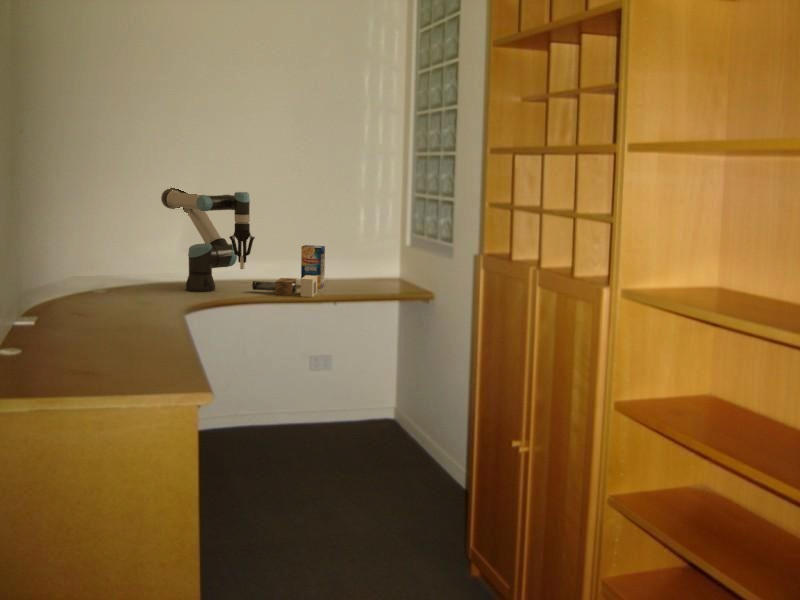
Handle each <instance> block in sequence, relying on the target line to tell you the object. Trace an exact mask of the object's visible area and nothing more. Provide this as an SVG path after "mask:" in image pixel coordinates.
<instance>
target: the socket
mask: <svg viewBox="0 0 800 600" xmlns="http://www.w3.org/2000/svg"><path fill="white" fill-rule="evenodd" d="M317 293H318V289H317V276H309V275H306V276H304V277H303V278H301V277H300V297H305V298H306V297H309V298H313V297H314V296H316V295H317Z"/></svg>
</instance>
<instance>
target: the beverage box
mask: <svg viewBox="0 0 800 600" xmlns="http://www.w3.org/2000/svg"><path fill="white" fill-rule="evenodd" d="M325 254H326V246H325V245H314V244H313V245H311V244H309V245H308V244H305V245H302V246H301V261H300V262H301V266H300V268H301V269H300V271H301V272H300V274H301V275H300V279H301V278H303V277H304V276H306V275H309V276H317V290H318V289H319V290H322V289H323V288H325V273H326V272H325V269H326V267H325V266H326V265H325V263H326V262H325V259H326V256H325Z"/></svg>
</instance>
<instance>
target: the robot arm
mask: <svg viewBox="0 0 800 600" xmlns="http://www.w3.org/2000/svg"><path fill="white" fill-rule="evenodd" d="M169 188H170V189H168V188H166V189H167V190H166V189H165V190H164V191H163V192H162V193H161V197H160V200H161V203H162V205H163V206H164V207H165V208H167V209H169V210H176V209H175V208H180V207H183V210H184V212H186V213H188V215H187V216H189V218H190V219H191V220H190V221H191V222H192V224H193V225H194V226H195V229H196V230H197V232H198V233H199V235H200V236H201V238H202V240H203V243H195V244H193V245H190V247H188V255H187V256H188V276H187V280H186V283H185V290H186V291H188V292H196V293H197V292H199V293H201V292H204V293H205V292H212V291H215V290H216V284H215V279H214V276H213V269H217V268H218V269H219V268H228V267H232V266H234V265H235V264H236V262H237V261H238V263H239V265H240V266H239V268H240V270H244V269H245V263H247V256H249V255H250V254H251V252H252V248H253V247H252V246H253V242H254V240H255V239H256V237H255V236H253V235H251V232H250V231H251V230H250V226H251V225H250V222H251V219H250V218H251V217H250V210H251V209H250V203H251V202H250V201H251V200H250V193H249V192H246V191H235V192H234V194H233V195H232V194H222V195H221V194H220V195H206V194H203V195H197V194H188V193H186V192H184V191H181V190H179V189H175V188H172V187H169ZM172 190H173V191H172ZM183 210H182V211H183ZM228 210H229V211H234V222H235V223H234V233H233V234H231V235H230V236H229V239H230V241H231V243H229V242H227V240H226V239H225V238H224V237H221V235H220V234H219V231H218V230H217V229H216V227H215V226H214V224H213V222H212V221H211V218H210V217H209V216H208V214H207V213H206V212H211V211H228ZM184 212H183V213H184ZM236 240H237V243H236ZM248 240H249V242H248V245H247V241H248Z"/></svg>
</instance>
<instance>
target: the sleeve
mask: <svg viewBox="0 0 800 600" xmlns="http://www.w3.org/2000/svg"><path fill="white" fill-rule="evenodd" d="M274 282H275V291H274V293H275V296H281V297H285V296H288V297H291V296H293V295H294V294H296V293H297V291H296V292H292V283H296V284H297V278H291V277H290V278H289V277H286V278H284V277H280V278H279V279H277V280H275V281H274Z"/></svg>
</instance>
